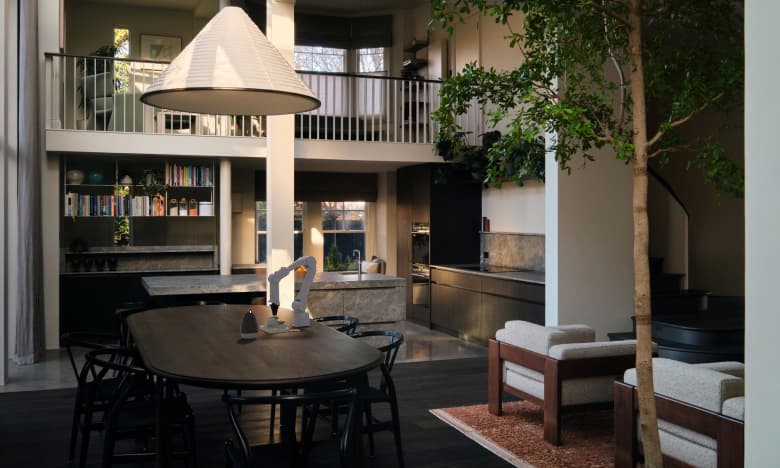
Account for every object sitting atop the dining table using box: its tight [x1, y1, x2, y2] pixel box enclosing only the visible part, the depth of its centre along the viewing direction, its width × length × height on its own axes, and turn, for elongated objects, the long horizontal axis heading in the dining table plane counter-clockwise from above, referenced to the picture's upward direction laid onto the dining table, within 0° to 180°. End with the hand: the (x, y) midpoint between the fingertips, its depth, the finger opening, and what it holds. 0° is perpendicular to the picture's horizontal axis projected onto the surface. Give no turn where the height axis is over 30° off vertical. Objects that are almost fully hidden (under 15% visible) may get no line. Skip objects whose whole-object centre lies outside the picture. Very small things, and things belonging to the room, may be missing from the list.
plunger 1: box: [271, 315, 280, 322], centre depth 429 cm, size 4×4×3 cm
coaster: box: [289, 329, 301, 333], centre depth 418 cm, size 6×6×1 cm
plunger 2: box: [277, 320, 286, 325], centre depth 419 cm, size 4×4×3 cm
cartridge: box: [266, 316, 274, 327], centre depth 422 cm, size 4×4×6 cm
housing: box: [259, 322, 290, 334], centre depth 422 cm, size 12×19×4 cm, turn 28°
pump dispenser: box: [239, 311, 260, 340], centre depth 395 cm, size 10×10×15 cm
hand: (274, 315), depth 429 cm, fingers closed
